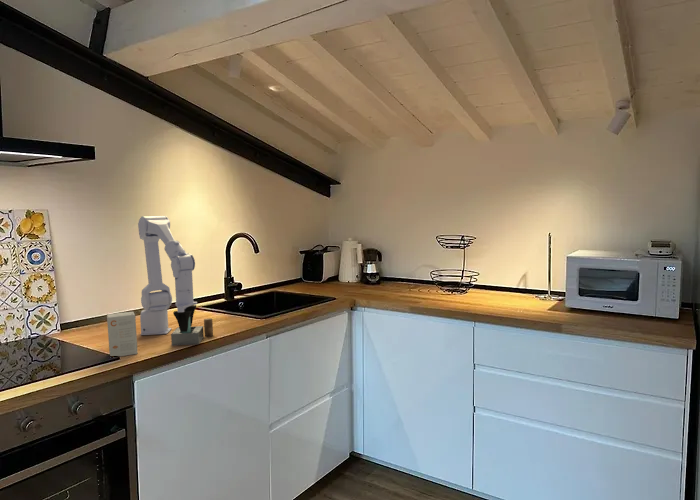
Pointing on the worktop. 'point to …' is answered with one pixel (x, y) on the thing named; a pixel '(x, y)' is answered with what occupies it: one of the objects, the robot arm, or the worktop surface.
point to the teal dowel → (188, 327)
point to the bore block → (187, 336)
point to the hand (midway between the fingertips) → (186, 328)
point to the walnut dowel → (208, 327)
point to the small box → (122, 334)
